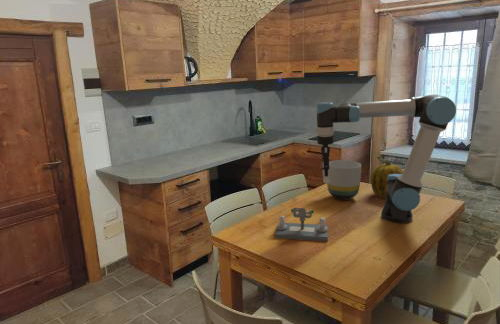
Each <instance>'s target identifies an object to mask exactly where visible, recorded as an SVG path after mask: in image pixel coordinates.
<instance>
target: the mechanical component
mask: <svg viewBox="0 0 500 324" xmlns="http://www.w3.org/2000/svg"><path fill="white" fill-rule="evenodd" d="M290 212H291V213H292V216H293V217H294V218H299V221H300V224H301V230H303V229H304V224H305V221H306V219H310V218H312V214H314V209H311V208H310V210H309V211H307V210H306V208H304V207H293V208H291V211H290Z"/></svg>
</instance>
